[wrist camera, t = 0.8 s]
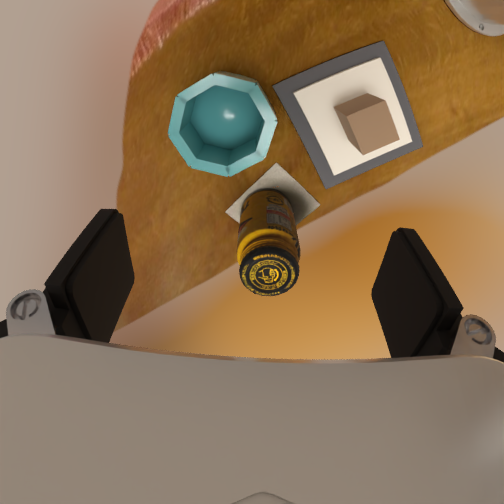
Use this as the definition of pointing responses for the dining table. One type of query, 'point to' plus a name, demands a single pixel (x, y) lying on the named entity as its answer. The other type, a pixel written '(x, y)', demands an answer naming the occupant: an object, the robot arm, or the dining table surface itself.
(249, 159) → the bowl
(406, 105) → the mat
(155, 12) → the dining table surface
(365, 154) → the lid
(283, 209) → the condiment
